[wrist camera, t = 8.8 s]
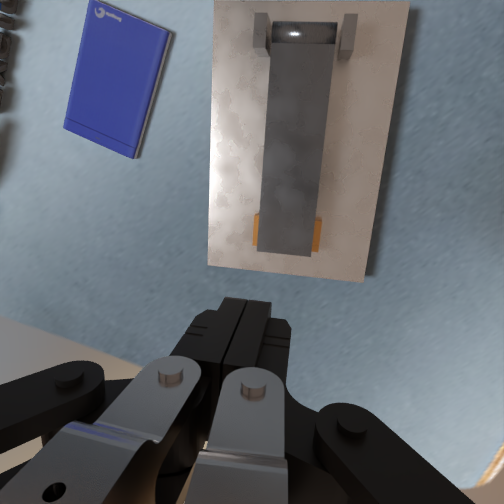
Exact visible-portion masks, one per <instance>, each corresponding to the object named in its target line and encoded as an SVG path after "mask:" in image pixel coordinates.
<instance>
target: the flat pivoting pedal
mask: <svg viewBox="0 0 504 504" xmlns="http://www.w3.org/2000/svg"><path fill="white" fill-rule="evenodd" d="M337 27H338V22H306V21H273V23H272V32H271V56H270V70H269V84H268V98H267V112H266V126H265V140H264V154H263V168H262V182H261V196H260V210H259V224H258V239H257V251H258V252H268V253H277V254H286V255H296V256H305V257H311V252H312V243H313V234H314V226H315V217H316V208H317V200H318V191H319V182H320V173H321V165H322V156H323V147H324V139H325V130H326V121H327V112H328V104H329V95H330V86H331V78H332V69H333V60H334V52H335V43H336V35H337Z"/></svg>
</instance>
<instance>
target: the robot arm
mask: <svg viewBox="0 0 504 504" xmlns="http://www.w3.org/2000/svg"><path fill="white" fill-rule="evenodd" d="M271 306H272V304H271V302H264V301H256V300H249V301H248V300H247V299H239V298H231V297H225V298H224V300H223V302H222V303H221V305H220V307H219V309H218V310H217V311H216V310H208V309H207V310H206V311H204V312H202V313H200V314H199V315H197V316H196V317H195V318H194V320H193V321H192V323H191V324H190V327H188V329H187V330H186V332H185V334H184V335H183V336H182V338H181V339H180V341H179V342H178V344H177V345H176V347H175V348H174V349H173V351H172V352H171V354H170V355H169V356H166V357H161V358H158V359H156V360H153V361H151V362H150V363H148V364H147V365H146V366H145V367H144V368H143V369H142V370H141V371H140V372H139V373H138V375H137V376H136V377H135V378H132V379H120V380H106V381H105V379H104V370H103V368H102V367H101V366H100V365H99V364H97V363H94V362H91V361H72V362H67V363H63V364H60V365H57V366H54V367H51V368H48V369H45V370H43V371H40V372H37V373H34V374H31V375H28V376H25V377H22V378H19V379H17V380H13V381H11V382H8V383H5V384H2V385H0V454H2V453H4V452H6V451H8V450H10V449H13V448H15V447H17V446H19V445H22V444H24V443H26V442H28V441H30V440H33V439H35V438H37V437H39V436H41V438H42V445H43V448H42V449H41V450H40V451H39V452H38V453H37V454H36V455H35V456H34V457H33V458H32V459H30V460H28V461H26V462H24V463H22V464H20V465H18V466H15V467H13V468H11V469H9V470H7V471H5V472H3V473H1V474H0V504H475V503H474V502H473V501H472V500H471V499H469V498H468V497H467V496H466V495H465V494H464V493H462V492H461V491H460V490H459V489H458V488H457V487H456V486H455V485H453V484H452V483H451V482H450V481H449V480H448V479H447V478H446V477H444V476H443V475H442V474H441V473H440V472H439V471H438V470H436V469H435V468H434V467H433V466H432V465H431V464H430V463H429V462H427V461H426V460H425V459H424V458H423V457H422V456H421V455H419V454H418V453H417V452H416V451H415V450H414V449H413V448H412V447H410V446H409V445H408V444H407V443H406V442H405V441H404V440H402V439H401V438H400V437H399V436H398V435H397V434H396V433H394V432H393V431H392V430H391V429H390V428H389V427H388V426H387V425H385V424H384V423H383V422H382V421H381V420H380V419H379V418H377V417H376V416H375V415H374V414H372V413H371V412H369V411H368V410H366V409H364V408H362V407H360V406H357V405H354V404H349V403H332V404H329V405H327V406H325V407H323V408H322V409H321V410H320V411H319V412H316V411H314V410H311V409H309V408H307V407H305V406H303V405H302V404H300V403H298V402H297V401H296V400H295V399H294V398H293V397H292V396H291V395H290V393H289V392H288V390H287V388H286V377H287V368H288V358H289V348H290V339H291V327H290V326H289V324H288V322H287V321H286V320H285V319H278V318H271ZM205 441H208V443H207V448H206V450H205V449H203V447H204V444H205ZM184 502H185V503H184Z"/></svg>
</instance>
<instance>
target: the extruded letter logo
mask: <svg viewBox="0 0 504 504" xmlns="http://www.w3.org/2000/svg"><path fill="white" fill-rule="evenodd" d="M17 3H18V0H0V11H2V12H5V13H7V14H13V13H15V12H16V9H17ZM14 21H15V20H13V19H11V18H9V17H7V16H5V15H3V14H1V13H0V27H1V28H4V29H6V30H13V27H14ZM10 45H11V39H10V37H8V36H6V35H4V34H2V33H0V59H5V58H7V57H8V56H9V51H10ZM6 69H7V63H6V62H4V61H1V60H0V72H3V71H5V70H6ZM4 81H5V80H4V78H3V77H2V76H1V75H0V85H2V86H4ZM2 93H3V90H1V89H0V105H1V99H2Z"/></svg>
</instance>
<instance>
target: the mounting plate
mask: <svg viewBox="0 0 504 504" xmlns="http://www.w3.org/2000/svg"><path fill="white" fill-rule="evenodd" d="M409 6H410V2H406V1H244V0H214V23H213V65H212V107H211V149H210V191H209V233H208V265H212V266H220V267H229V268H238V269H247V270H256V271H264V272H273V273H282V274H291V275H300V276H308V277H317V278H326V279H335V280H344V281H352V282H361V283H363V282H364V276H365V270H366V264H367V258H368V252H369V246H370V240H371V234H372V228H373V222H374V216H375V210H376V204H377V198H378V192H379V186H380V180H381V174H382V168H383V162H384V156H385V150H386V144H387V138H388V132H389V126H390V120H391V114H392V108H393V102H394V96H395V90H396V84H397V78H398V72H399V66H400V60H401V54H402V48H403V42H404V36H405V30H406V24H407V18H408V12H409ZM273 21H306V22H338V27H337V35H336V43H335V52H334V60H333V69H332V78H331V86H330V95H329V104H328V112H327V121H326V130H325V139H324V147H323V156H322V165H321V173H320V182H319V191H318V200H317V208H316V217H315V226H314V234H313V243H312V252H311V257H305V256H296V255H286V254H277V253H268V252H258V251H257V239H258V224H259V210H260V196H261V182H262V168H263V154H264V140H265V126H266V112H267V98H268V84H269V70H270V56H271V32H272V23H273Z"/></svg>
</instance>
